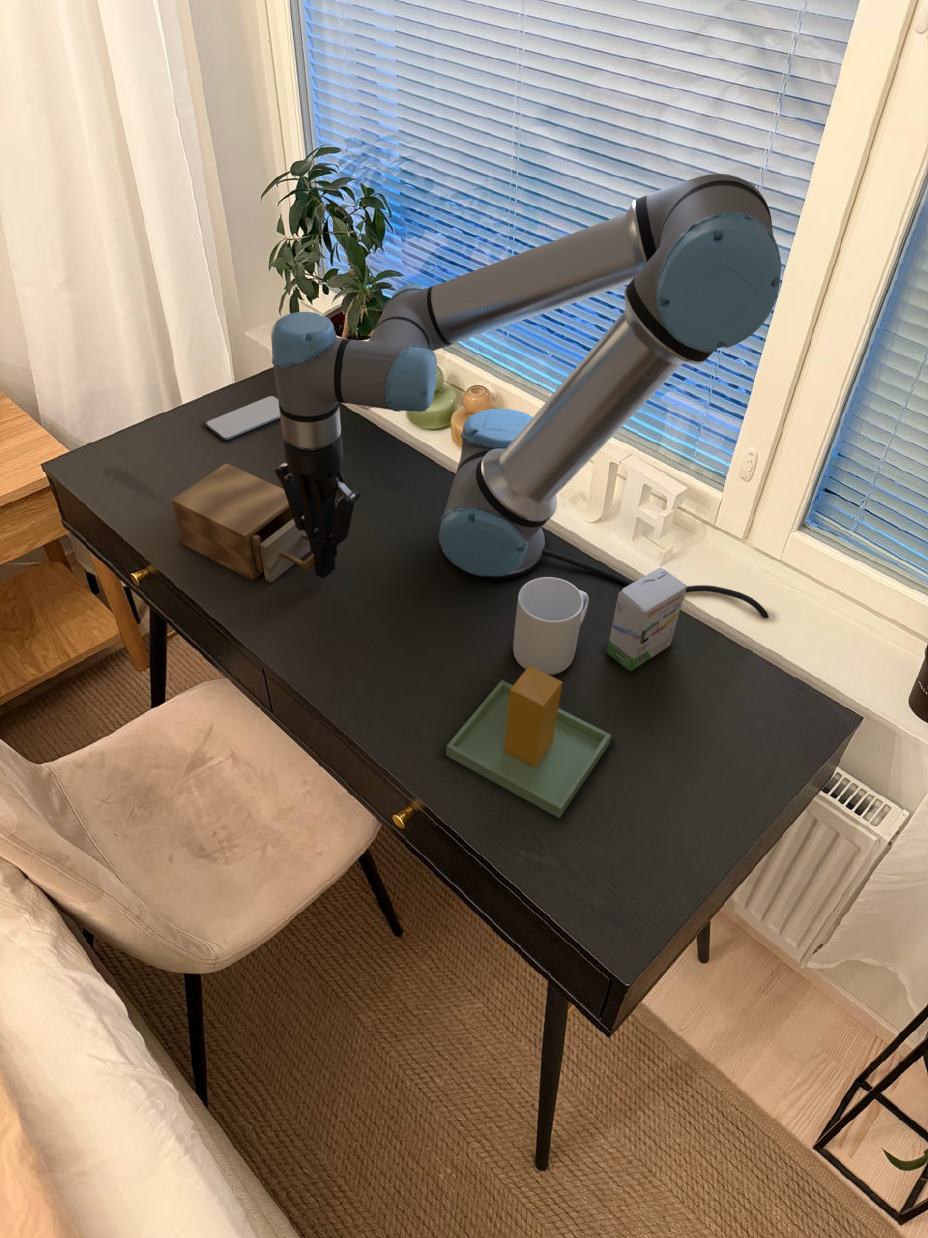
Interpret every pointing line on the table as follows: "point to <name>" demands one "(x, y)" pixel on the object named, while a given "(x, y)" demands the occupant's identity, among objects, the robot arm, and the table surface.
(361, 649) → the table surface
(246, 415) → the smartphone
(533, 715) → the block
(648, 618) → the ink box
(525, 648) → the mug
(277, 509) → the cabinet
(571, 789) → the tray
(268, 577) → the drawer
